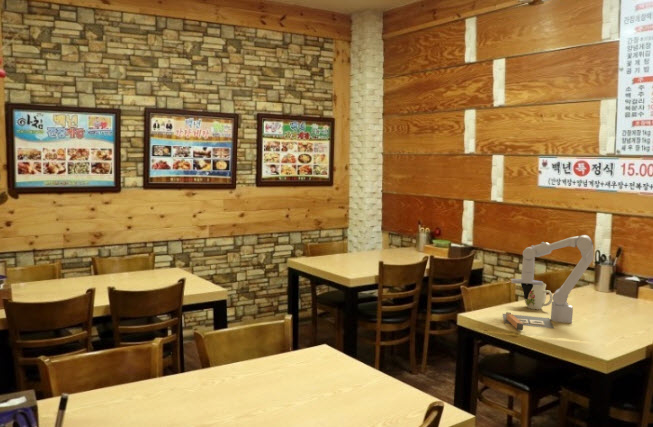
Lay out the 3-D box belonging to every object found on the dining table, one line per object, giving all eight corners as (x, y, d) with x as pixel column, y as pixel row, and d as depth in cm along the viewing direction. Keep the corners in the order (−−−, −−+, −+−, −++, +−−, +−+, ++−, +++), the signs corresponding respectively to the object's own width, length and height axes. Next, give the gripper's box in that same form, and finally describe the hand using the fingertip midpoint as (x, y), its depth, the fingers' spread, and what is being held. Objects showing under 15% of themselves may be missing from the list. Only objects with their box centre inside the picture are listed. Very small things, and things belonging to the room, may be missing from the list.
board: (549, 320, 278) (549, 310, 277) (554, 330, 260) (554, 320, 260) (502, 315, 283) (502, 306, 283) (504, 325, 266) (504, 315, 265)
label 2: (542, 322, 270) (542, 320, 270) (544, 325, 264) (544, 324, 264) (529, 320, 271) (529, 319, 271) (530, 324, 266) (530, 322, 266)
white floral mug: (544, 313, 289) (546, 287, 288) (514, 305, 304) (516, 280, 303) (557, 311, 296) (559, 285, 294) (527, 303, 310) (529, 278, 309)
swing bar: (506, 319, 269) (507, 314, 268) (512, 319, 269) (512, 314, 268) (517, 329, 252) (518, 324, 252) (523, 330, 252) (524, 324, 252)
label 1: (527, 320, 272) (527, 319, 272) (528, 324, 266) (528, 322, 266) (514, 319, 273) (514, 317, 273) (514, 322, 267) (515, 321, 267)
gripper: (542, 271, 282) (540, 298, 283) (511, 268, 285) (509, 295, 286) (544, 274, 275) (542, 301, 276) (513, 271, 278) (511, 298, 280)
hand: (525, 298), depth 281 cm, fingers closed
